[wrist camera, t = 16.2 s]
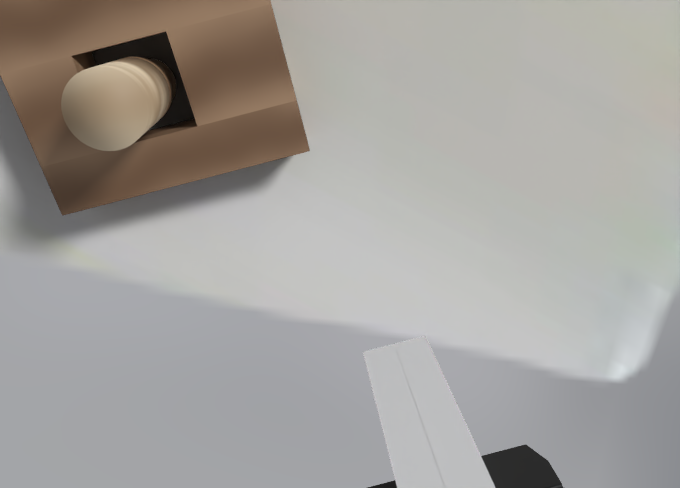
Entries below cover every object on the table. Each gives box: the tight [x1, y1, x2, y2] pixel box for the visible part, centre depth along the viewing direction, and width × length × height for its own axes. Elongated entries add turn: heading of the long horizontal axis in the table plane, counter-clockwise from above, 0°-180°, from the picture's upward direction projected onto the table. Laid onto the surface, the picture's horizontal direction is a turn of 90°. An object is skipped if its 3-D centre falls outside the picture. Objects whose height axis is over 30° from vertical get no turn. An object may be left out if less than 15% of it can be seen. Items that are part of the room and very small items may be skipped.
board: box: [0, 0, 310, 215], centre depth 37 cm, size 15×16×4 cm
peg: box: [61, 56, 176, 151], centre depth 34 cm, size 4×4×11 cm
